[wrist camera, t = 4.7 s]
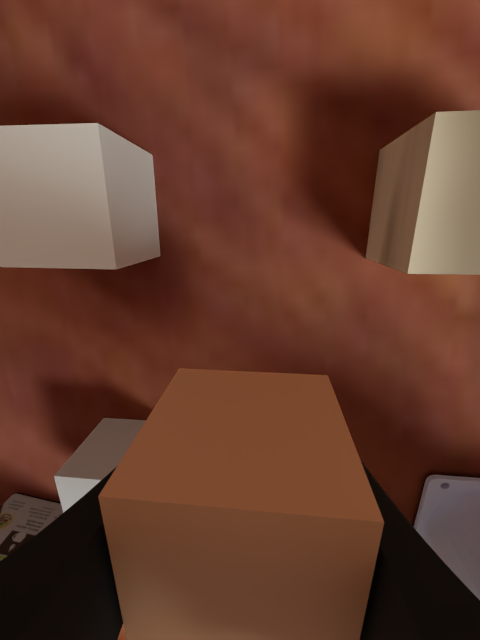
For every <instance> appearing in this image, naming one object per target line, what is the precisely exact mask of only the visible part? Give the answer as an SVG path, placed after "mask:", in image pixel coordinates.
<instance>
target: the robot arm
mask: <svg viewBox="0 0 480 640" xmlns="http://www.w3.org/2000/svg"><path fill="white" fill-rule="evenodd" d="M361 463H362V466H363V468H364V471H365V473H366V476H367V479H368V481H369V484H370V486H371V489H372V492H373V494H374V497H375V499H376V502H377V505H378V507H379V510H380V512H381V515H382V518H383V520H384V526H383V531H382V535H381V540H380V545H379V550H378V554H377V559H376V564H375V569H374V573H373V578H372V583H371V588H370V592H369V597H368V602H367V607H366V611H365V616H364V621H363V626H362V630H361V635H360V640H480V478H473V477H459V476H446V475H430V476H428V477H427V478H426V481H425V484H424V488H423V492H422V496H421V500H420V504H419V508H418V512H417V516H416V519H415V523H414V527H413V526H412V525H411V524H410V522H409V521H408V520H407V519H406V517H405V516H404V515H403V514H402V513H401V511H400V510H399V509H398V508H397V506H396V505H395V504H394V503H393V502H392V500H391V499H390V498H389V496H388V495H387V494H386V493H385V491H384V490H383V489H382V487H381V486H380V485H379V484H378V482H377V481H376V480H375V478H374V477H373V476H372V474H371V473H370V472H369V470H368V469H367V468H366V466H365V465H364V464H363V462H362V461H361ZM117 466H118V465H117ZM117 466H116V467H117ZM116 467H115V468H114V469H113V470H112V471H111V472H110V473H109V474H108V475H107V476H105V477H104V478H103V479H102V480H101V481H100V482H99V483H98V484H97V485H95V486H94V487H93V488H92V489H91V490H90V491H89V492H88V493H86V494H85V495H84V496H83V497H82V498H81V499H79V500H78V501H77V502H76V503H75V504H73V505H72V506H71V507H70V508H69V509H67V510H66V511H65V512H64V513H63V514H61V515H60V516H59V517H58V518H57V519H55V520H54V521H53V522H52V523H50V524H49V525H48V526H47V527H45V528H44V529H43V530H42V531H40V532H39V533H38V534H36V535H35V536H34V537H32V538H31V539H30V540H28V541H27V542H26V543H24V544H23V545H22V546H20V547H19V548H18V549H16V550H15V551H13V552H12V553H11V554H9V555H8V556H7V557H5V558H4V559H3V560H1V561H0V640H117V638H118V636H119V633H120V630H121V627H122V625H123V619H122V614H121V609H120V604H119V599H118V594H117V589H116V584H115V578H114V573H113V568H112V563H111V558H110V553H109V548H108V543H107V538H106V533H105V528H104V523H103V518H102V513H101V508H100V503H99V498H98V496H99V494H100V493H101V491H102V490H103V488H104V486H105V485H106V483H107V482H108V480H109V479H110V477H111V475H112V474H113V472H114V471H115V469H116Z"/></svg>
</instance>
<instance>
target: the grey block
mask: <svg viewBox="0 0 480 640" xmlns="http://www.w3.org/2000/svg"><path fill="white" fill-rule="evenodd" d="M145 421H146V420H131V419H115V418H103V419H102V420H101V422H100V423H99V424H98V425H97V426H96V427H95V429H94V430H93V431H92V432H91V433H90V434H89V436H88V437H87V438H86V439H85V440H84V441H83V443H82V444H81V445H80V446H79V447H78V448H77V450H76V451H75V452H74V453H73V454H72V455H71V457H70V458H69V459H68V460H67V461H66V462H65V464H64V465H63V466H62V467H61V468H60V469H59V471H58V472H57V473H56V474H55V475H54V478H55V482H56V486H57V490H58V494H59V498H60V502H61V506H62V510H63V513H64V512H65V511H66V510H67V509H69V508H70V507H71V506H72V505H73V504H75V503H76V502H77V501H78V500H79V499H81V498H82V497H83V496H84V495H85V494H86V493H88V492H89V491H90V490H91V489H92V488H93V487H94V486H95V485H97V484H98V483H99V482H100V481H101V480H102V479H103V478H104V477H105V476H107V475H108V474H109V473H110V472H111V471H112V470H113V469H114V468H115V467H116V466H117V465H118V464H119V463H120V461H121V459H122V458H123V456H124V455H125V453H126V452H127V450H128V448H129V447H130V445H131V444H132V442H133V440H134V439H135V437H136V436H137V434H138V433H139V431H140V429H141V428H142V426H143V425H144V423H145Z"/></svg>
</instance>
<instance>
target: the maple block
mask: <svg viewBox="0 0 480 640" xmlns="http://www.w3.org/2000/svg"><path fill="white" fill-rule="evenodd" d="M366 259H368V260H371V261H374V262H377V263H379V264H382V265H385V266H388V267H390V268H393V269H396V270H399V271H401V272H404V273H407V274H477V275H480V110H475V111H448V112H435V113H434V114H432V115H431V116H429V117H428V118H426V119H425V120H423V121H422V122H420V123H419V124H417V125H416V126H414V127H413V128H411V129H410V130H409V131H407V132H406V133H404V134H403V135H401V136H400V137H398V138H397V139H395V140H394V141H392V142H391V143H389V144H388V145H386V146H385V147H383V148H382V149H380V150H379V158H378V166H377V174H376V181H375V189H374V197H373V204H372V212H371V220H370V228H369V235H368V243H367V251H366Z"/></svg>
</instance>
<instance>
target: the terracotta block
mask: <svg viewBox="0 0 480 640" xmlns="http://www.w3.org/2000/svg"><path fill="white" fill-rule="evenodd" d="M98 498H99V503H100V508H101V513H102V518H103V523H104V528H105V533H106V538H107V543H108V548H109V553H110V558H111V563H112V568H113V573H114V578H115V584H116V589H117V594H118V599H119V604H120V609H121V614H122V619H123V624H124V629H125V634H126V639H127V640H360V635H361V630H362V626H363V621H364V616H365V611H366V607H367V602H368V597H369V592H370V588H371V583H372V578H373V573H374V569H375V564H376V559H377V554H378V550H379V545H380V540H381V535H382V531H383V526H384V520H383V518H382V515H381V512H380V510H379V507H378V505H377V502H376V499H375V497H374V494H373V492H372V489H371V486H370V484H369V481H368V479H367V476H366V473H365V471H364V468H363V466H362V463H361V460H360V458H359V455H358V453H357V450H356V447H355V445H354V442H353V440H352V437H351V434H350V432H349V429H348V427H347V424H346V421H345V419H344V416H343V413H342V411H341V408H340V406H339V403H338V400H337V398H336V395H335V393H334V390H333V387H332V385H331V382H330V380H329V377H328V375H314V374H293V373H271V372H250V371H229V370H207V369H186V368H179V369H178V371H177V372H176V374H175V375H174V377H173V379H172V380H171V382H170V383H169V385H168V387H167V388H166V390H165V391H164V393H163V394H162V396H161V398H160V399H159V401H158V402H157V404H156V406H155V407H154V409H153V410H152V412H151V413H150V415H149V417H148V418H147V420H146V421H145V423H144V425H143V426H142V428H141V429H140V431H139V433H138V434H137V436H136V437H135V439H134V440H133V442H132V444H131V445H130V447H129V448H128V450H127V452H126V453H125V455H124V456H123V458H122V459H121V461H120V463H119V464H118V466H117V467H116V469H115V471H114V472H113V474H112V475H111V477H110V479H109V480H108V482H107V483H106V485H105V486H104V488H103V490H102V491H101V493H100V494H99V496H98Z"/></svg>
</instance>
